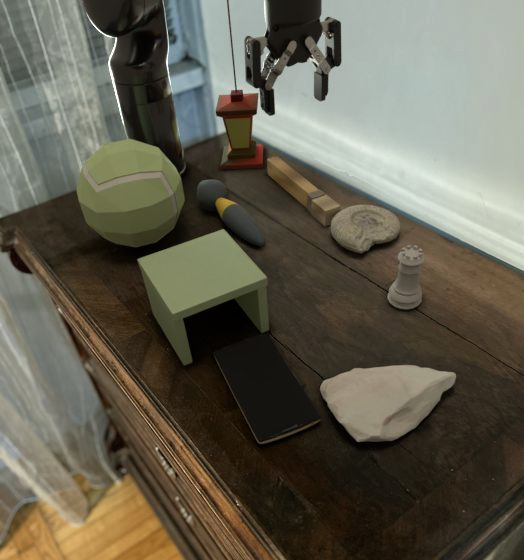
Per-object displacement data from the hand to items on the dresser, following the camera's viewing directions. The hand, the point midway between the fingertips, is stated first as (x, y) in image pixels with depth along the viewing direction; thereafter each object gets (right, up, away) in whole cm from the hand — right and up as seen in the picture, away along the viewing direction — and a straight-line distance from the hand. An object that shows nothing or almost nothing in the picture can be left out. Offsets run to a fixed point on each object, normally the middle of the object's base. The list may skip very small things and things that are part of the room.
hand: (295, 106), depth 81 cm
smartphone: (-5, -41, -17) cm, 44 cm away
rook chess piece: (+14, -29, -8) cm, 34 cm away
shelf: (-12, -32, -8) cm, 35 cm away
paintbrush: (-10, -15, +8) cm, 20 cm away
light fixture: (-9, 0, +23) cm, 24 cm away
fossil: (+11, -19, +3) cm, 22 cm away
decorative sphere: (-24, -18, +7) cm, 31 cm away
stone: (+10, -42, -19) cm, 47 cm away
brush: (+1, -10, +12) cm, 16 cm away
